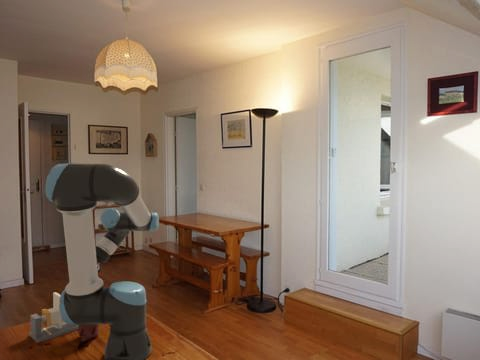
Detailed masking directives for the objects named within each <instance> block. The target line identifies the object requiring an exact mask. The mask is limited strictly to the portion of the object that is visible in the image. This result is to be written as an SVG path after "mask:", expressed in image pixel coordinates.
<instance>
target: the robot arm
mask: <svg viewBox="0 0 480 360" xmlns="http://www.w3.org/2000/svg"><path fill="white" fill-rule="evenodd" d="M44 190H45V196H46V198H47V199H48V201H50V202H52V203H55V208H56V209H55V210H57V212H59V213H61V214H62V223H63V232H64V240H65V249H66V260H67V270H68V279H69V282H68V283H67V284H66V286H65V289H64V290H63V291H62V292H61V294H60V295H61V297H60V304H59V311H60V315H61V318H62V322H65V323H67V324H75V325H87V324H99V325H109V335H108V338H107V342H106V344H105V348H104V360H146V359H147V358H148V357H149V356H150V355H151V353H152V342H151V338H150V335H149V333H148V329H147V302H148V300H147V293H146V289H145V286H144V285H142V284H140V283H138V282H134V281H128V280H127V281H123V280H122V281H116V282H113V283H111V285H110V286H109V287H104V286H105V285H104V280H103V279H102V278H101V277H99V276H98V275H99V273H100V271H102V269H101V268H100V266H101V265H102V264H106V263H107V261H108V260H109V259H110V258H111V255H113V254H114V252H116V250H117V249H118V248H119V246H120V245H121V244H122V242H123V241H124V240H125V238H126V237H127V236H129V235H130V233H131V232H155V231H157V230H158V229H159V225H160V216H159V213H157V212H152V211H149V209H148V207H147V205H146V204H145V202H144V200H143V198H142V197H141V195H140V187H139V185H138V183H137V181H136V180H135V179H134V178H133V177H132V176H131V175H130V174H128V172H126V171H124V170H123V169H121V168H119V167H117V166H114V165H111V164H107V163H78V162H77V163H73V162H69V163H59V164H56V165H54V166H53V167H52V168H51V169H50V170H49V172H48V175H47V177H46V180H45V189H44ZM98 202H109V203H110V202H111V203H113V204H115V205H116V206H118V207H120V208H121V210H123V212H120V211H119V210H118V209H116V208H113V207H111V208H110V207H108V208H107V209H105V210H103V211H102V213H101V214H100V217H99V218H100V219H99V220H100V222H101V224H102V226H103V228H104V229H105V231H106V233H105V234H104V235H103V236H102V238H101V239H100V240H99V241H98V242H97V243H96V238H95V226H94V215H93V210H94V209H95V208H96V207H97V206H98Z"/></svg>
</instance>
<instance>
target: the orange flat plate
mask: <svg viewBox="0 0 480 360" xmlns="http://www.w3.org/2000/svg"><path fill="white" fill-rule="evenodd" d="M42 315H46V322H42V323H41V324H42V325H44V326H45V328H46V327H50V326H52V325H51V312H49V311H48V310H47V308H42V309H41V316H42Z"/></svg>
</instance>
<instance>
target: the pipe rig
mask: <svg viewBox="0 0 480 360" xmlns="http://www.w3.org/2000/svg"><path fill="white" fill-rule="evenodd" d="M42 322H46V315H42V314H41V315H39V314H38V313H34V314H30V331H29V337H30V338H31V339H32V340H34V342H35V343H41V342H45V341H48V340H50V339H53V338H57V337H60V336H63V335H65V334H69V333H71V332H74V331H78V329H79V328H78V325H75V324H67V323H65V322H64V321H62V322H63V328H59V327H57V326H56V325H55V324H52V325H51V326H50V327H46V326H45V327H42V324H43V323H42Z"/></svg>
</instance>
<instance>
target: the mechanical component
mask: <svg viewBox="0 0 480 360" xmlns="http://www.w3.org/2000/svg"><path fill="white" fill-rule="evenodd" d="M99 325H100V324H87V325H78V328H79V329H78V330H77V335H78V336H79V337H80V338H81V341H82V342H86V341H88V340H90V339H93V338H97V337H99V333H100V332H99Z"/></svg>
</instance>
